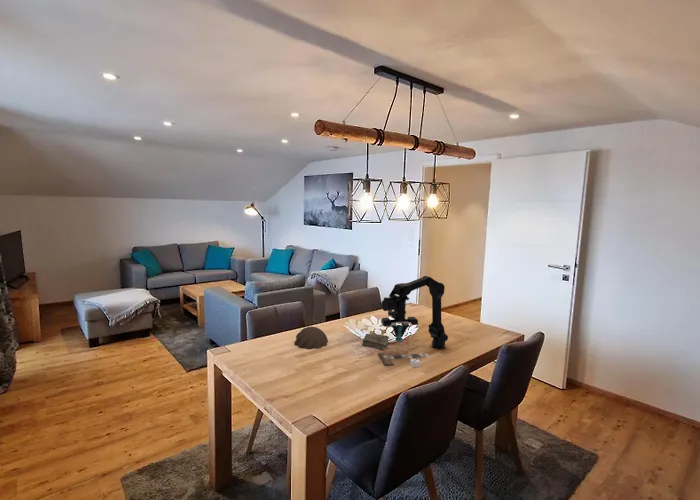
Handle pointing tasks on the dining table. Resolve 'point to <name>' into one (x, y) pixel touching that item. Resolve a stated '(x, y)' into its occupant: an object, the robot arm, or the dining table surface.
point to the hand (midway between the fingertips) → (398, 336)
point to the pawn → (399, 333)
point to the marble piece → (375, 341)
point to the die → (414, 362)
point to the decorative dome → (311, 338)
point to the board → (398, 357)
